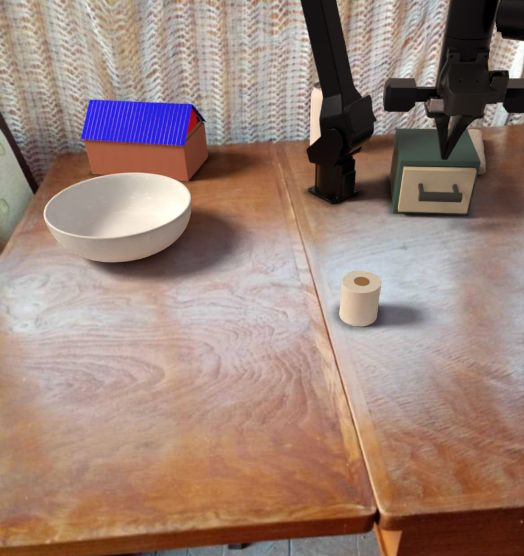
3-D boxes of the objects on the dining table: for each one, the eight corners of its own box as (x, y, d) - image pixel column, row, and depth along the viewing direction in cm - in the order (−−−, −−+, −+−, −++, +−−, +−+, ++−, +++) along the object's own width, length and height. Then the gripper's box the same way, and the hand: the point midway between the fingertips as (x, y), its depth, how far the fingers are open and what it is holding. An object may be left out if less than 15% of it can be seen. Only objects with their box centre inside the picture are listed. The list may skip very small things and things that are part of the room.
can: (340, 156, 104) (345, 90, 96) (307, 155, 105) (309, 89, 97) (343, 144, 108) (348, 80, 100) (312, 143, 110) (313, 79, 102)
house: (189, 182, 98) (180, 115, 90) (89, 174, 102) (73, 110, 94) (210, 156, 106) (203, 93, 98) (117, 150, 110) (104, 89, 103)
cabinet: (468, 215, 85) (481, 161, 79) (393, 213, 86) (400, 160, 80) (456, 178, 95) (467, 129, 89) (389, 177, 96) (395, 128, 90)
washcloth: (479, 140, 107) (482, 124, 105) (486, 178, 94) (490, 161, 92) (417, 137, 110) (420, 122, 108) (416, 174, 97) (419, 157, 95)
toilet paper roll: (331, 313, 67) (333, 279, 64) (358, 299, 69) (361, 265, 66) (357, 331, 64) (361, 297, 61) (384, 316, 66) (389, 282, 63)
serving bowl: (173, 287, 73) (165, 242, 68) (31, 276, 76) (15, 232, 71) (211, 214, 88) (207, 173, 83) (91, 208, 91) (81, 168, 87)
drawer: (471, 227, 80) (482, 184, 75) (399, 225, 81) (406, 182, 77) (456, 179, 92) (464, 139, 88) (394, 178, 94) (399, 138, 89)
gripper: (393, 51, 62) (378, 181, 72) (566, 50, 59) (525, 185, 70) (389, 29, 70) (376, 149, 80) (541, 28, 68) (507, 151, 78)
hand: (443, 158), depth 77 cm, fingers closed
